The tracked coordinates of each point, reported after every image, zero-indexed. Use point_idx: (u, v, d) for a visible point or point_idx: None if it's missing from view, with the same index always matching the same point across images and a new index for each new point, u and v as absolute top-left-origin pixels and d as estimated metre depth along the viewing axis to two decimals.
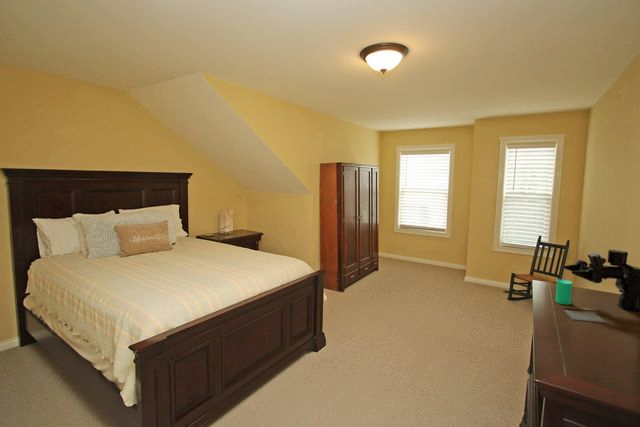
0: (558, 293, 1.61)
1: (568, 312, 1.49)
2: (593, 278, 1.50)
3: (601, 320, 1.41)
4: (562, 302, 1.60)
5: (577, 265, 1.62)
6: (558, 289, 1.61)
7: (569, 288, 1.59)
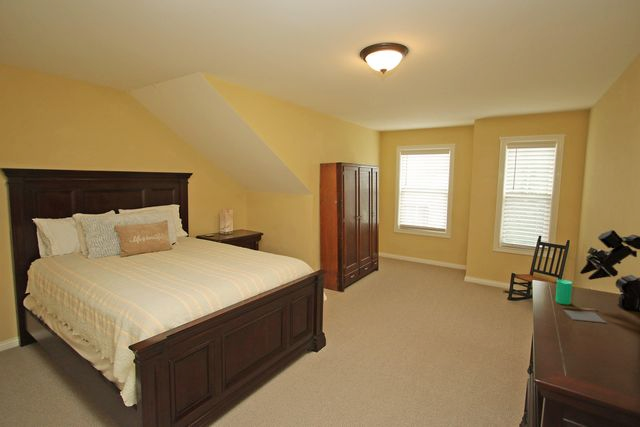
0: (558, 293, 1.61)
1: (568, 312, 1.49)
2: (609, 273, 1.48)
3: (601, 320, 1.41)
4: (562, 302, 1.60)
5: (589, 264, 1.61)
6: (558, 289, 1.61)
7: (569, 288, 1.59)
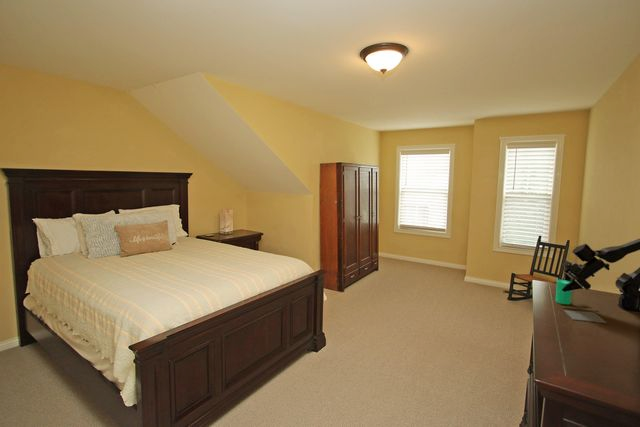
0: (558, 293, 1.61)
1: (568, 312, 1.49)
2: (581, 285, 1.54)
3: (601, 320, 1.41)
4: (562, 302, 1.60)
5: (566, 277, 1.64)
6: (558, 289, 1.61)
7: None
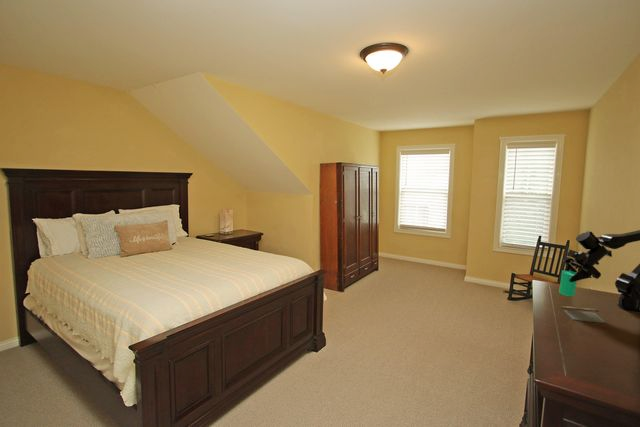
0: (564, 285, 1.54)
1: (568, 312, 1.49)
2: (589, 274, 1.48)
3: (601, 320, 1.41)
4: (567, 294, 1.54)
5: (569, 267, 1.57)
6: (564, 281, 1.54)
7: None
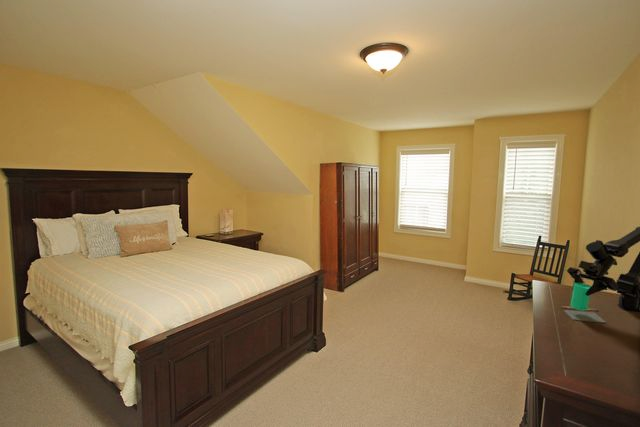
0: (579, 299, 1.45)
1: (568, 312, 1.49)
2: (606, 286, 1.40)
3: (601, 320, 1.41)
4: (583, 309, 1.45)
5: (578, 279, 1.49)
6: (579, 295, 1.44)
7: None
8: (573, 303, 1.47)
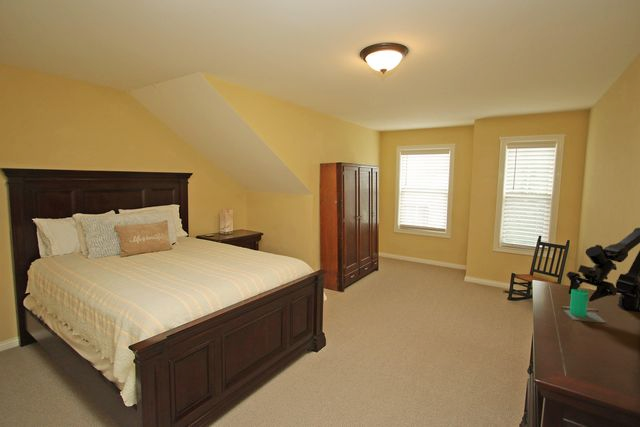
0: (577, 305, 1.45)
1: (568, 312, 1.49)
2: (609, 292, 1.39)
3: (601, 320, 1.41)
4: (582, 315, 1.45)
5: (574, 282, 1.51)
6: (577, 301, 1.45)
7: (587, 298, 1.45)
8: (572, 309, 1.47)
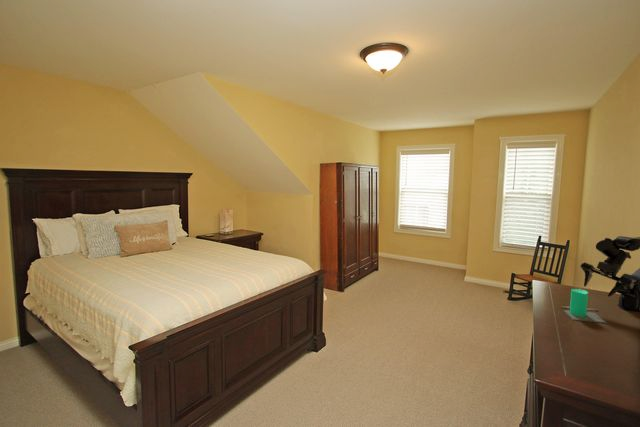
0: (577, 305, 1.45)
1: (568, 312, 1.49)
2: (626, 287, 1.44)
3: (601, 320, 1.41)
4: (582, 315, 1.45)
5: (589, 274, 1.53)
6: (577, 301, 1.45)
7: (587, 298, 1.45)
8: (572, 309, 1.47)
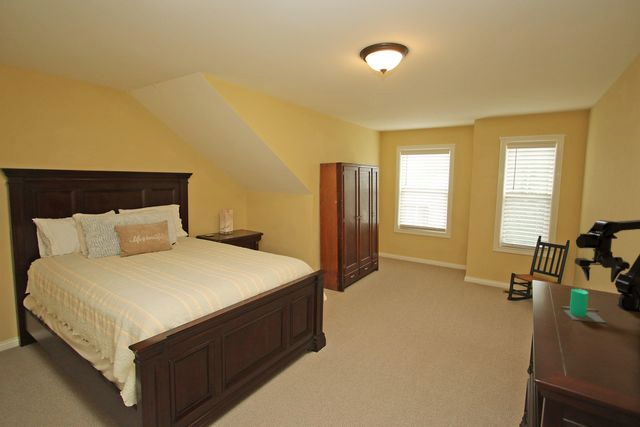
0: (577, 305, 1.45)
1: (568, 312, 1.49)
2: None
3: (601, 320, 1.41)
4: (582, 315, 1.45)
5: None
6: (577, 301, 1.45)
7: (587, 298, 1.45)
8: (572, 309, 1.47)
